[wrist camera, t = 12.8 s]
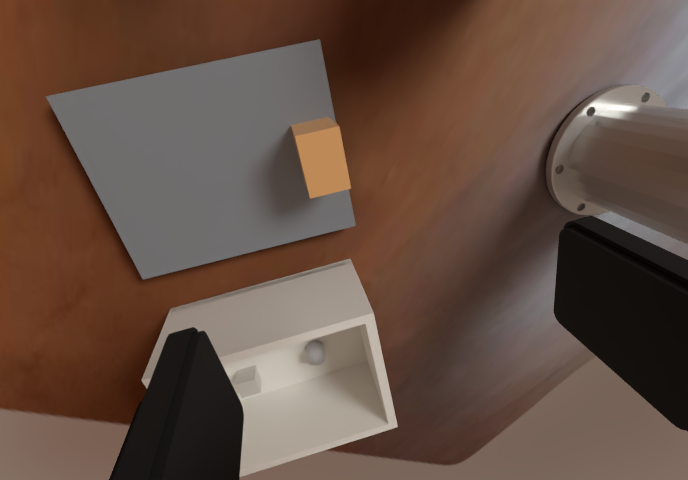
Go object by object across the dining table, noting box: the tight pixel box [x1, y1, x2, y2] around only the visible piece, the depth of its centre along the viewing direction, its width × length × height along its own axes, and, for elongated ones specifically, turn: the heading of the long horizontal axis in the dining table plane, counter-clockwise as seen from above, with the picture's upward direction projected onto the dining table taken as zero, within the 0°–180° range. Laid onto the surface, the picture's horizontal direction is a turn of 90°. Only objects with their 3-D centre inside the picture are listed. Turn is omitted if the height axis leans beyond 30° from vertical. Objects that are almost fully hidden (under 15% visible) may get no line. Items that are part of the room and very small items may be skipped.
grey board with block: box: [46, 39, 356, 280], centre depth 27 cm, size 19×15×7 cm
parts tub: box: [141, 259, 398, 477], centre depth 35 cm, size 18×14×9 cm
